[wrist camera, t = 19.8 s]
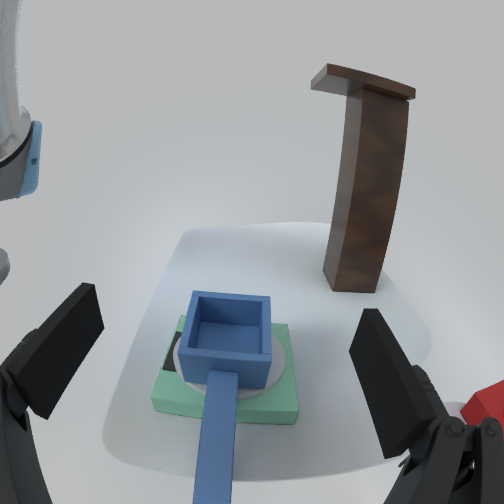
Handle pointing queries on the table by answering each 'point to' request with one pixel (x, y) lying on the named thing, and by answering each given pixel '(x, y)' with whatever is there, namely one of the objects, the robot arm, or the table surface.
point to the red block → (485, 405)
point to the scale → (248, 399)
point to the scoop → (223, 376)
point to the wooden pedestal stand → (365, 174)
